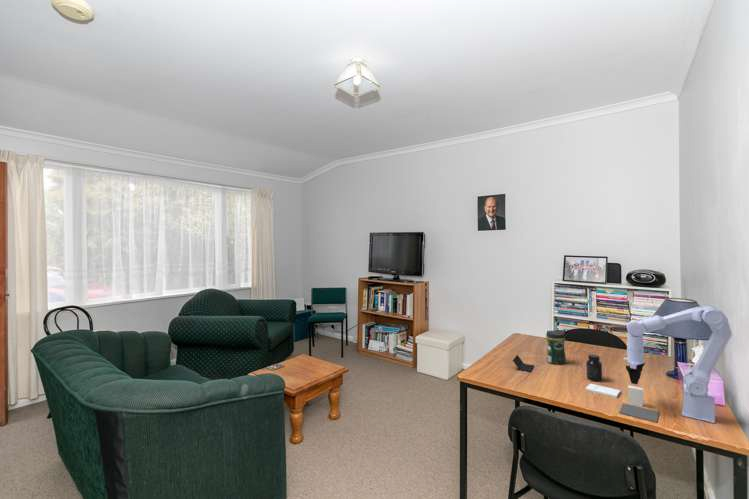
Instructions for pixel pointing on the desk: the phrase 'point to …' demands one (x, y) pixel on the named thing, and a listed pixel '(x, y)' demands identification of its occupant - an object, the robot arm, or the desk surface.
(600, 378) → the supplement bottle
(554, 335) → the coffee jar
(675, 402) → the desk surface
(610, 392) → the external hard drive
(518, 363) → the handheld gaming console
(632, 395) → the slab
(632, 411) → the mat
